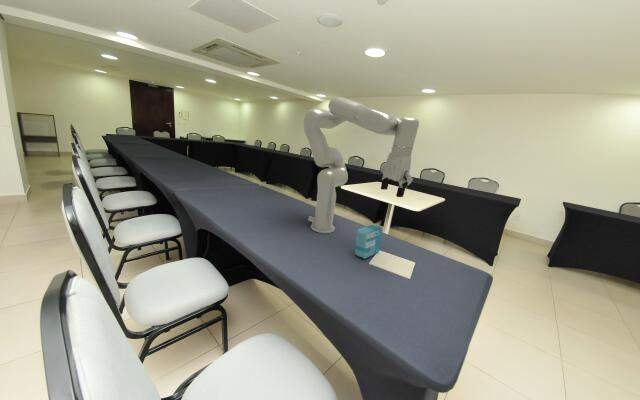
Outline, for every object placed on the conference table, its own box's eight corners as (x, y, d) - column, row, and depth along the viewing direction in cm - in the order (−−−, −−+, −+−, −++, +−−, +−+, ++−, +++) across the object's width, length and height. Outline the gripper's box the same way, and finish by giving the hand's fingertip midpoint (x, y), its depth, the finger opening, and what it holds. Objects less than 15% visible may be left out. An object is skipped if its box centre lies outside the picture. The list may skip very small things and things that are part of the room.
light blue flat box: (363, 259, 97) (365, 232, 95) (354, 256, 101) (356, 229, 98) (379, 252, 105) (382, 226, 103) (371, 248, 109) (373, 223, 106)
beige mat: (368, 264, 96) (369, 263, 96) (378, 250, 108) (378, 249, 108) (409, 279, 89) (409, 278, 89) (415, 263, 101) (415, 262, 101)
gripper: (380, 147, 98) (371, 186, 103) (410, 154, 83) (398, 200, 89) (394, 148, 101) (385, 186, 106) (425, 156, 86) (413, 200, 92)
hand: (391, 192), depth 98 cm, fingers open, 9 cm apart
